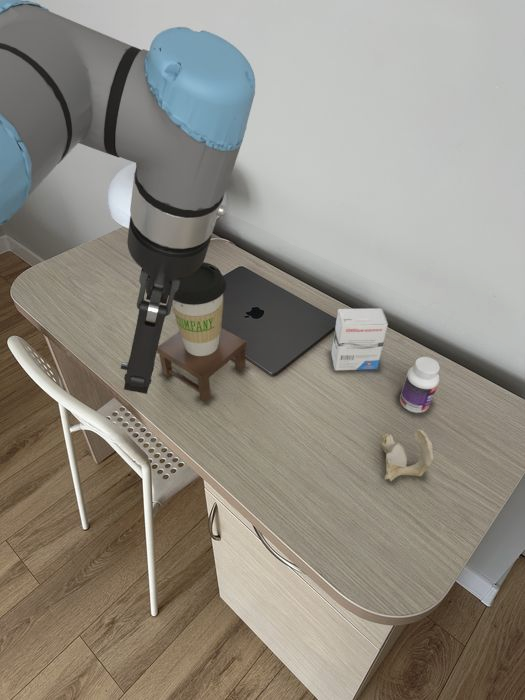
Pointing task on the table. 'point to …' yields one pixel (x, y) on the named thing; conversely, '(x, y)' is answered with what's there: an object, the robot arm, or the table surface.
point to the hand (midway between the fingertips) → (146, 341)
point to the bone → (398, 458)
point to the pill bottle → (420, 385)
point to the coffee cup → (200, 309)
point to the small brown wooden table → (201, 360)
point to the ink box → (358, 338)
